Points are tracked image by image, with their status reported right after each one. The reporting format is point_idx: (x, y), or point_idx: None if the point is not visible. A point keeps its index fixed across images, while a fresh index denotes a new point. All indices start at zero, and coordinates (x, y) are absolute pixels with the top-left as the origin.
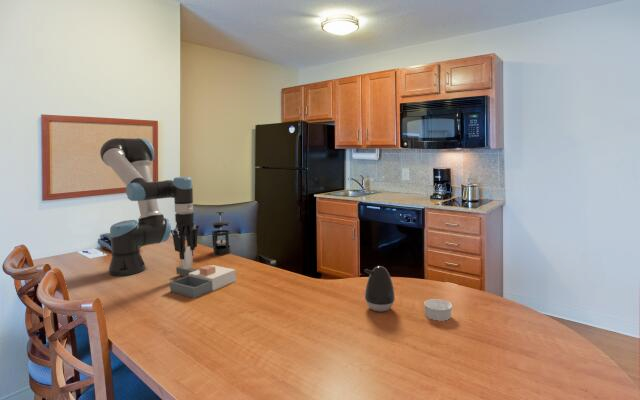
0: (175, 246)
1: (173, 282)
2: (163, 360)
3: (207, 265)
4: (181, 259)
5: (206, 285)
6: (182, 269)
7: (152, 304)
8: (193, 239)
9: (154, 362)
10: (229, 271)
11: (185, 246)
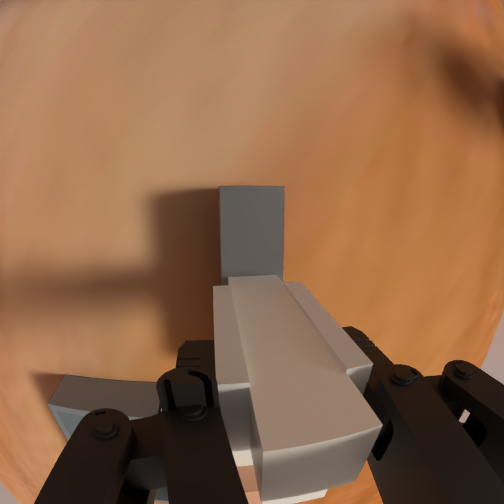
0: (64, 499)
1: (59, 419)
2: (22, 498)
3: (256, 492)
4: (214, 322)
5: (162, 496)
6: (221, 273)
7: (3, 395)
8: (497, 471)
9: (14, 492)
10: (295, 501)
11: (319, 462)
